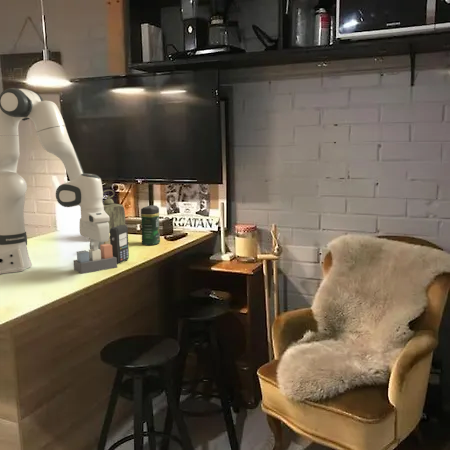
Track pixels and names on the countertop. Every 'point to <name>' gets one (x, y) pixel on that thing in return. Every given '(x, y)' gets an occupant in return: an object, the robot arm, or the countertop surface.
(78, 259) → the key blue
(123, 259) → the card reader
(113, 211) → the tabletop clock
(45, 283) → the countertop surface
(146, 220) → the coffee jar
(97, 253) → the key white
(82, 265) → the grey rectangular tray
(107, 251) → the key rust
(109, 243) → the ceramic mug
